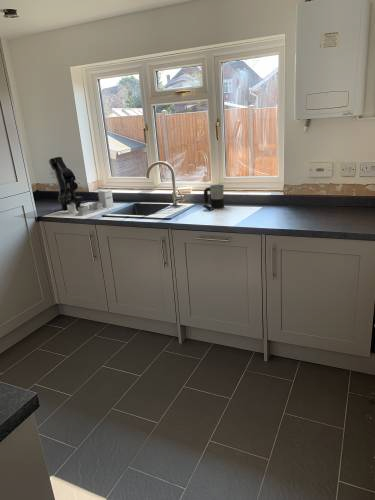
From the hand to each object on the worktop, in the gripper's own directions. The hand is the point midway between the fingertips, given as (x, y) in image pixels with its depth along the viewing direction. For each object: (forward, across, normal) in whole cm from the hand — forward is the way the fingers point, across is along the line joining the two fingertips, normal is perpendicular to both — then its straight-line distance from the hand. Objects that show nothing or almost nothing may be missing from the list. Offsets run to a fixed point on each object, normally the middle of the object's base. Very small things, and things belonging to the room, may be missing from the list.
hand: (72, 210), depth 287 cm
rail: (+1, +13, +5) cm, 14 cm away
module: (+1, 0, 0) cm, 1 cm away
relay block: (+2, -4, +11) cm, 12 cm away
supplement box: (+2, +13, +21) cm, 25 cm away
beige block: (+2, +7, +13) cm, 15 cm away
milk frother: (+2, +94, +39) cm, 102 cm away
